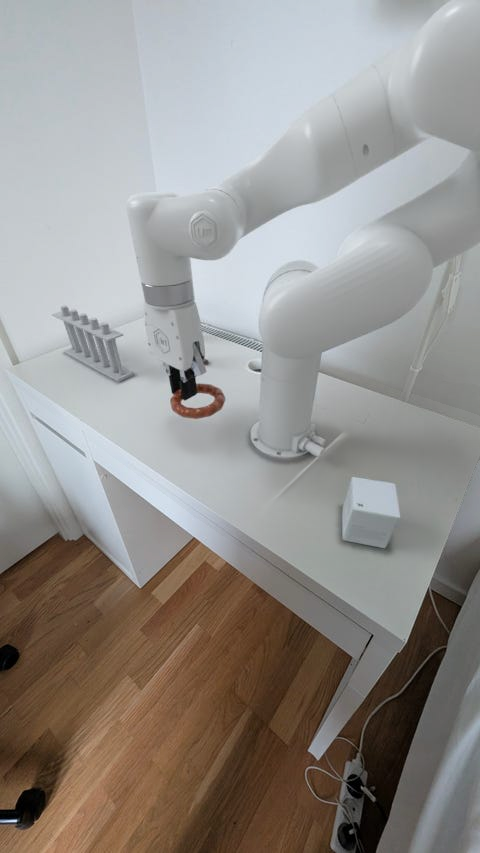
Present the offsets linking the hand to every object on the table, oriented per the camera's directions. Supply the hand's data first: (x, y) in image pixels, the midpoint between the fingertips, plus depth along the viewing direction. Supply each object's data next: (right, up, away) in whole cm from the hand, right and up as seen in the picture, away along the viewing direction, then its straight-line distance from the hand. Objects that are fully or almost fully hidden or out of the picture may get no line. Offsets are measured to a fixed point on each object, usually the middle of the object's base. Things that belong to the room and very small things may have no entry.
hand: (184, 393), depth 62 cm
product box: (+29, -21, -12) cm, 38 cm away
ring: (+3, -1, -2) cm, 4 cm away
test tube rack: (-28, +10, +27) cm, 40 cm away
